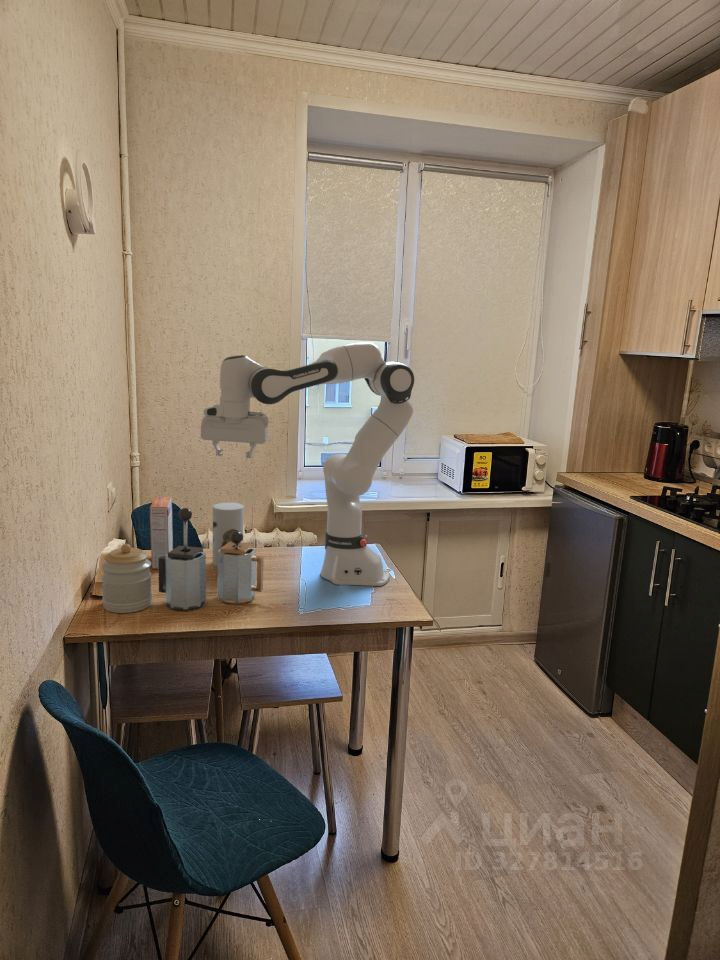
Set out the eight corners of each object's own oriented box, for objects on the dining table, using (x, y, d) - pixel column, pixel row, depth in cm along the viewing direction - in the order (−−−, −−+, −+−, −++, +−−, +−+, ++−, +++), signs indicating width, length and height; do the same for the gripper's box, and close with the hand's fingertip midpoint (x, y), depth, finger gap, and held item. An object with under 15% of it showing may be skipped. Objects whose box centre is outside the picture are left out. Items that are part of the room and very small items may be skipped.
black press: (210, 598, 191) (210, 546, 188) (196, 612, 181) (195, 557, 178) (168, 594, 193) (168, 542, 190) (152, 607, 183) (151, 553, 180)
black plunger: (204, 564, 188) (203, 506, 184) (193, 573, 180) (192, 512, 177) (178, 562, 189) (178, 503, 185) (166, 570, 181) (166, 510, 178)
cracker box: (155, 555, 226) (154, 496, 222) (173, 555, 227) (172, 496, 223) (150, 569, 213) (148, 506, 209) (169, 569, 214) (168, 506, 210)
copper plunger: (253, 585, 195) (254, 529, 192) (244, 594, 188) (245, 536, 184) (228, 582, 196) (229, 526, 193) (219, 591, 189) (219, 533, 186)
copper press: (266, 594, 197) (267, 543, 193) (255, 607, 186) (256, 554, 183) (225, 589, 198) (226, 539, 195) (212, 602, 188) (212, 549, 185)
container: (211, 559, 225) (211, 502, 221) (240, 558, 228) (241, 501, 224) (214, 569, 216) (214, 509, 212) (244, 567, 219) (245, 508, 215)
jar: (158, 597, 190) (157, 538, 187) (142, 615, 178) (141, 552, 174) (113, 595, 191) (111, 536, 187) (94, 612, 178) (92, 549, 174)
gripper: (271, 411, 198) (270, 457, 201) (206, 407, 201) (206, 452, 204) (265, 413, 192) (264, 460, 195) (198, 409, 195) (198, 455, 198)
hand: (234, 456), depth 199 cm, fingers open, 8 cm apart
